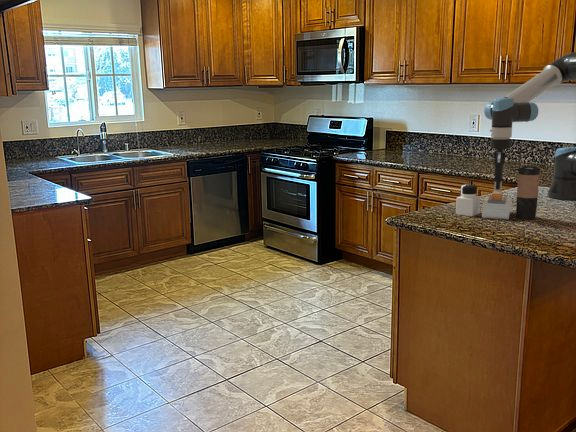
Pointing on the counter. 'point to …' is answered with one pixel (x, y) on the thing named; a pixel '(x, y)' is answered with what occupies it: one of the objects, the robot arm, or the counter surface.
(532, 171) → the travel mug
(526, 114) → the robot arm
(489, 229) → the counter surface
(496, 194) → the toggle
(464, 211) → the medicine bottle
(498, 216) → the grey boxy piece
